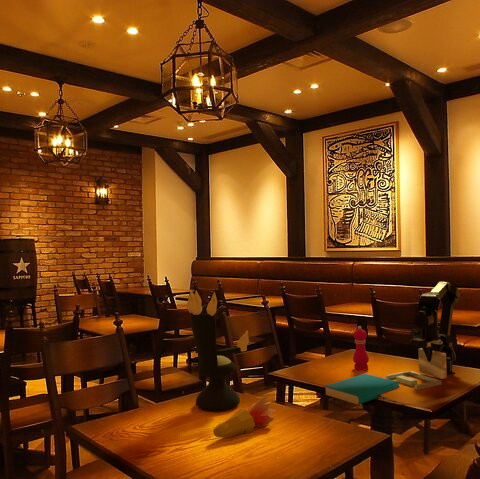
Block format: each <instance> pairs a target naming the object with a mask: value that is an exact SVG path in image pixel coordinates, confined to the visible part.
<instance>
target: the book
mask: <svg viewBox="0 0 480 479" xmlns="http://www.w3.org/2000/svg"><path fill="white" fill-rule="evenodd" d="M324 387H325V395H326V396H329V397H331V398H332V397H333V398H335V399H339V400H342V401H344V402H348V403H350V404H355V405H357V406H359V405H362V404H364V403H368V402H370V401H373V400H376V399H379V398H380V397H381V398H382V395H381V394H384V393H386V392H389V391H392V390H395V389H397V388H400V383H398V382H397V381H396V380H394V379H390V380H389V379H386V377H382V376H376V375H373V374H369V373H362V374H359V375H355V376H353V377H350V378H349V377H348V378H345V379H343V380H339V381H337V382H333V383H329V384H327V385H324ZM378 397H379V398H378Z"/></svg>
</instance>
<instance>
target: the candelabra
mask: <svg viewBox="0 0 480 479" xmlns="http://www.w3.org/2000/svg"><path fill="white" fill-rule="evenodd" d="M217 306H218V299H217V296H216V291H213V294H212V296H211V299H210V301H209V302H208V304H207V306H206V313H202V311H203V306H202V298H201V296H200V294H199V293H198V291H197V290H195V293H194V292H193V291H192V289H190V290H189V297H188V300H187V305H186V309H187V310H188V312H189V315H190V316H189V321H190V326H191V331H192V335H193V339H194V344H195V353H196V354H197V360H198V367H197V370H198V373H199V375H201V376H202V377H205V378H209V380H208V384H206V386H205V387H204V388H203V390H201V391H200V392H199V393H198V395H197V397H196V399H195V406H197V408H198V409H199V410H201V411H206V412H211V413H218V412H225V411H226V412H227V411H229V410H233V409H234V408H235V409H236V408H237V407H238V405H239V404H240V402H241V399H240V396H239V394H238V393H237V392H236V391H235V389H233V388H232V387H231V386H230V385H228V383H227V382H226V377H229V376H230V375H232V374H233V373H234V372H235V369H236V365H235V363H234V362H233V361H232V360H231V359H230V358H228V357H226V356H228V355H234V354H239V353H240V352H246V351H247V350H248V348H247V347H248V344H249V343H250V338H249V329H247V330H246V331H245V332H244V333H243V334H242V335H241V336H240V338H239V339H238V342H237V344H236V346H232V347H227V348H222V349H217V318H216V315H215V314H216V313H217Z"/></svg>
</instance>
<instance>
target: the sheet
mask: <svg viewBox="0 0 480 479" xmlns="http://www.w3.org/2000/svg"><path fill="white" fill-rule="evenodd" d="M417 351H418V352H417V353H418V372H419V373H420V374H421V373H422V374H423V375H424V374H425V375H426V376H430V377H433V378H436V379H439V380H440V379H441V380H442V379H447V378H448V376H447V370H446V353H442V352H438V351H434V350H433V351H432V357H431V362H428V360H427V358H426V355H425V353H424V351H423V349H422V348H418V350H417Z"/></svg>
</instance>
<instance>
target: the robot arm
mask: <svg viewBox="0 0 480 479" xmlns="http://www.w3.org/2000/svg"><path fill="white" fill-rule="evenodd" d="M460 297H461V293H460V289H459V288H458V287H456V286H454V285H453V284H451V283H450V282H449V281H438V282H437V283H436V285H435V286H434V288H432V289H431V291H430V292H429V291H428V292H424V293H422V294H421V295H420V296H419V300H418V305H417V309H416V311H417V312H418V314H417V315H416V316H415V317H414V323H415V325H416V326H417V327H418V328H419V329H417V328H412V329H410V336H411V339H410V341H409V343H410V345H409V346H411V347H415V348H418V349H420V348H422V349H423V351H424V353H425V355H426V358H427V360H428V362H431V357H432V351H433V350H434V351H438V352H442V353H446V370H447V375H452V374H456V371H454V370H453V361H456V359H457V358H456V357H457V356H456V352H455V350H454V346H453V337H452V335H451V329H452V321H453V313H454V308H455V306H456V305H458V303H459V299H460ZM440 307H441V313H440V320H439V316H438V313H439V310H440Z"/></svg>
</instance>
